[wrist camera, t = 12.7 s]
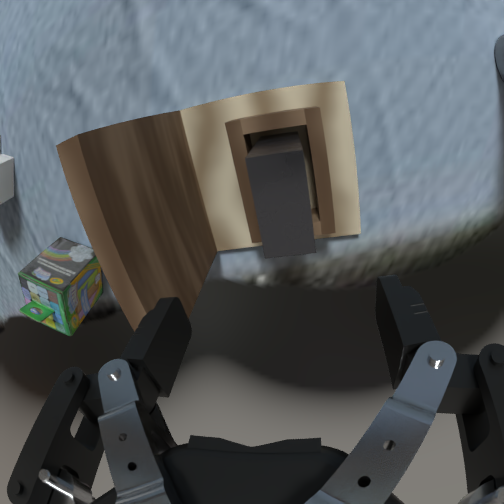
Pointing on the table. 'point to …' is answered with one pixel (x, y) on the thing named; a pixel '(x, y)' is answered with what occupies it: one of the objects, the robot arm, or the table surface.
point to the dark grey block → (281, 195)
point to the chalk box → (61, 285)
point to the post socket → (202, 186)
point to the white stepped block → (6, 177)
